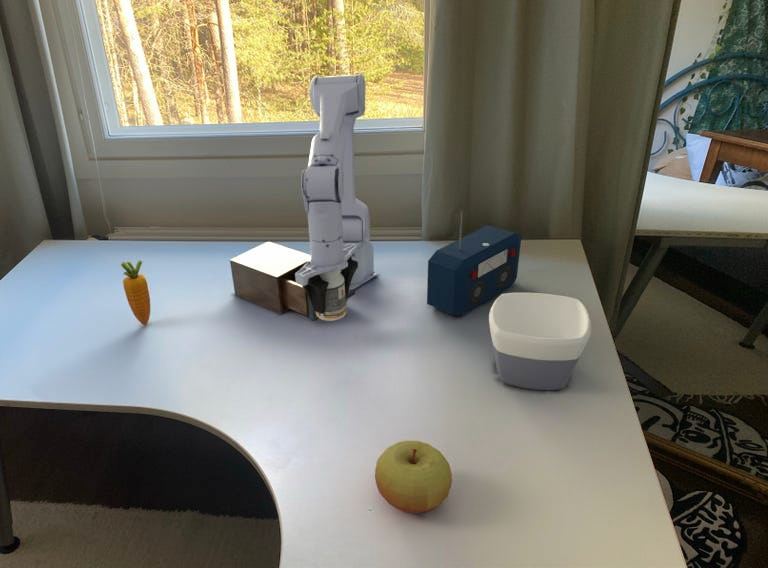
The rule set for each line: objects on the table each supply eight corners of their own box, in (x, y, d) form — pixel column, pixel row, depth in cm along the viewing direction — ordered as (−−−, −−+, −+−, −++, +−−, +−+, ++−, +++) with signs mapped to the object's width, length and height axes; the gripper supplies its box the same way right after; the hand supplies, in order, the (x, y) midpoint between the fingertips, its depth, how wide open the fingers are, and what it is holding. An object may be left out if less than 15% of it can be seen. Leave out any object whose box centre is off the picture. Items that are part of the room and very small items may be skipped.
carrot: (159, 318, 133) (145, 254, 125) (153, 331, 129) (137, 265, 121) (137, 319, 134) (121, 255, 126) (130, 331, 129) (113, 266, 122)
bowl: (583, 404, 97) (595, 344, 92) (481, 392, 102) (486, 334, 97) (578, 350, 110) (589, 295, 104) (487, 341, 115) (492, 288, 109)
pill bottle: (351, 309, 116) (349, 260, 111) (338, 324, 112) (335, 274, 106) (324, 304, 118) (320, 256, 113) (310, 318, 114) (305, 270, 109)
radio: (458, 323, 121) (464, 226, 110) (423, 308, 127) (425, 215, 117) (522, 285, 131) (532, 193, 121) (486, 273, 137) (494, 184, 127)
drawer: (363, 307, 128) (362, 277, 124) (329, 328, 122) (327, 298, 118) (300, 284, 139) (298, 256, 135) (267, 302, 133) (263, 274, 129)
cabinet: (318, 292, 137) (315, 256, 132) (280, 314, 130) (276, 277, 126) (272, 275, 146) (268, 241, 141) (234, 294, 139) (229, 259, 135)
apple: (436, 466, 89) (438, 422, 85) (460, 518, 81) (464, 473, 77) (368, 476, 88) (367, 433, 84) (386, 530, 80) (385, 485, 76)
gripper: (314, 256, 100) (320, 328, 107) (371, 226, 108) (372, 294, 116) (283, 246, 105) (290, 316, 112) (340, 218, 113) (343, 284, 120)
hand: (330, 304), depth 114 cm, fingers closed on pill bottle, 5 cm apart
